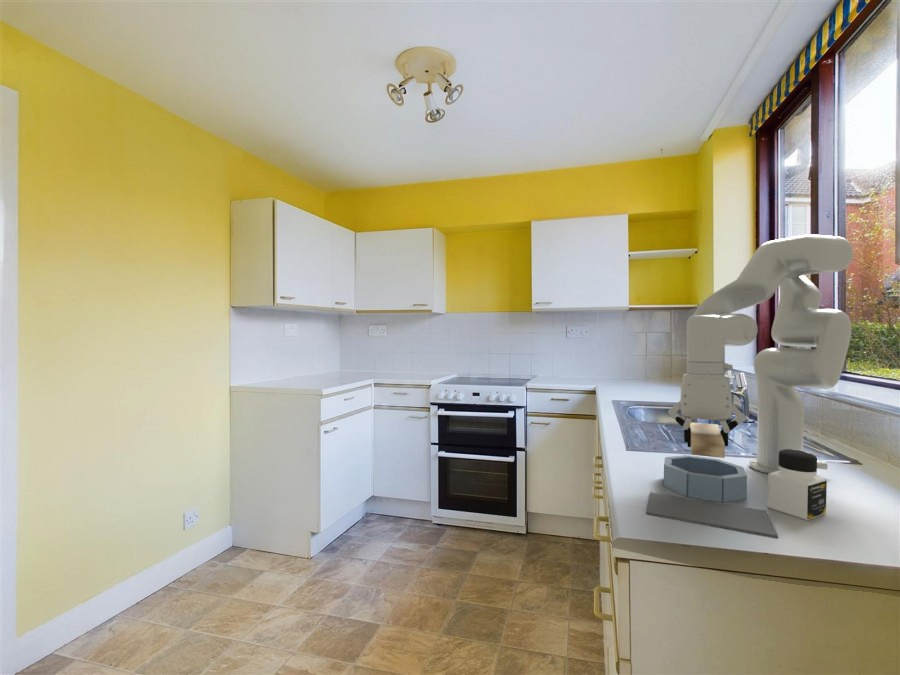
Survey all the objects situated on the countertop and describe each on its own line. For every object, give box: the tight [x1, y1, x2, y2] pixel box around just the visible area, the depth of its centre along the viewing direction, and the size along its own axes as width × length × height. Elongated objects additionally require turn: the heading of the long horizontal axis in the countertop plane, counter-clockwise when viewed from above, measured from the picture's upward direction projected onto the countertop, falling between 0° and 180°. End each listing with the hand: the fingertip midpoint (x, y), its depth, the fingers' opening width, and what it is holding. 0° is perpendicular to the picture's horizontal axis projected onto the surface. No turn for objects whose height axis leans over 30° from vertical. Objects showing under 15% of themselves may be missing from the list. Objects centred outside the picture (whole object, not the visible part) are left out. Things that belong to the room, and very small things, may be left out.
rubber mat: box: [646, 491, 779, 539], centre depth 87 cm, size 21×12×1 cm, turn 62°
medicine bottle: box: [767, 449, 828, 521], centre depth 88 cm, size 7×7×12 cm
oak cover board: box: [690, 421, 726, 459], centre depth 101 cm, size 6×19×3 cm, turn 152°
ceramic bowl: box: [663, 454, 748, 503], centre depth 101 cm, size 16×16×5 cm
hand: (705, 446), depth 101 cm, fingers closed on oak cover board, 6 cm apart
